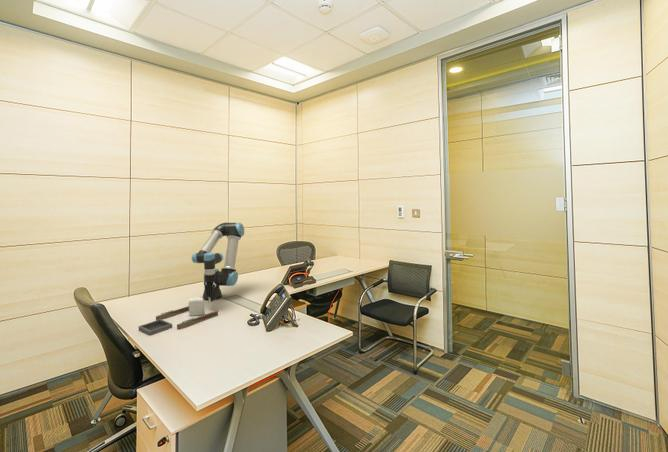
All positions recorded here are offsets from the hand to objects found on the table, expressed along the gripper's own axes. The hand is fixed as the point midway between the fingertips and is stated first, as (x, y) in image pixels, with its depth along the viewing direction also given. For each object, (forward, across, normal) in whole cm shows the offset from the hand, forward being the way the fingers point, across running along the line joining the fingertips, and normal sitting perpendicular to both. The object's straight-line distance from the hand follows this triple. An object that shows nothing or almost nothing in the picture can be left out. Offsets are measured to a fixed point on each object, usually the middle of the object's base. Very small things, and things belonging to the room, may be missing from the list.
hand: (211, 305), depth 239 cm
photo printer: (+4, 0, -12) cm, 12 cm away
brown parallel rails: (+4, 0, -19) cm, 19 cm away
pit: (+4, 0, -41) cm, 41 cm away
